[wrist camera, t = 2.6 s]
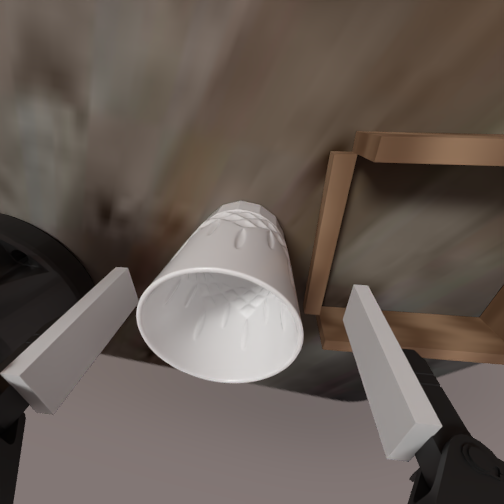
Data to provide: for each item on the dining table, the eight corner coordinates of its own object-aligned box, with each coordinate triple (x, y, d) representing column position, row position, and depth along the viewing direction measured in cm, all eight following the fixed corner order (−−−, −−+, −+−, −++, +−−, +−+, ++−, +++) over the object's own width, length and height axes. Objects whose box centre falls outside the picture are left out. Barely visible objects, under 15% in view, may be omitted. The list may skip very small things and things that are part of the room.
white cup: (265, 287, 22) (259, 398, 13) (187, 255, 21) (125, 354, 12) (308, 219, 18) (340, 313, 9) (215, 175, 17) (153, 237, 8)
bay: (301, 313, 23) (306, 348, 20) (334, 130, 15) (352, 135, 11) (485, 327, 22) (524, 366, 18) (637, 137, 13) (761, 144, 10)
